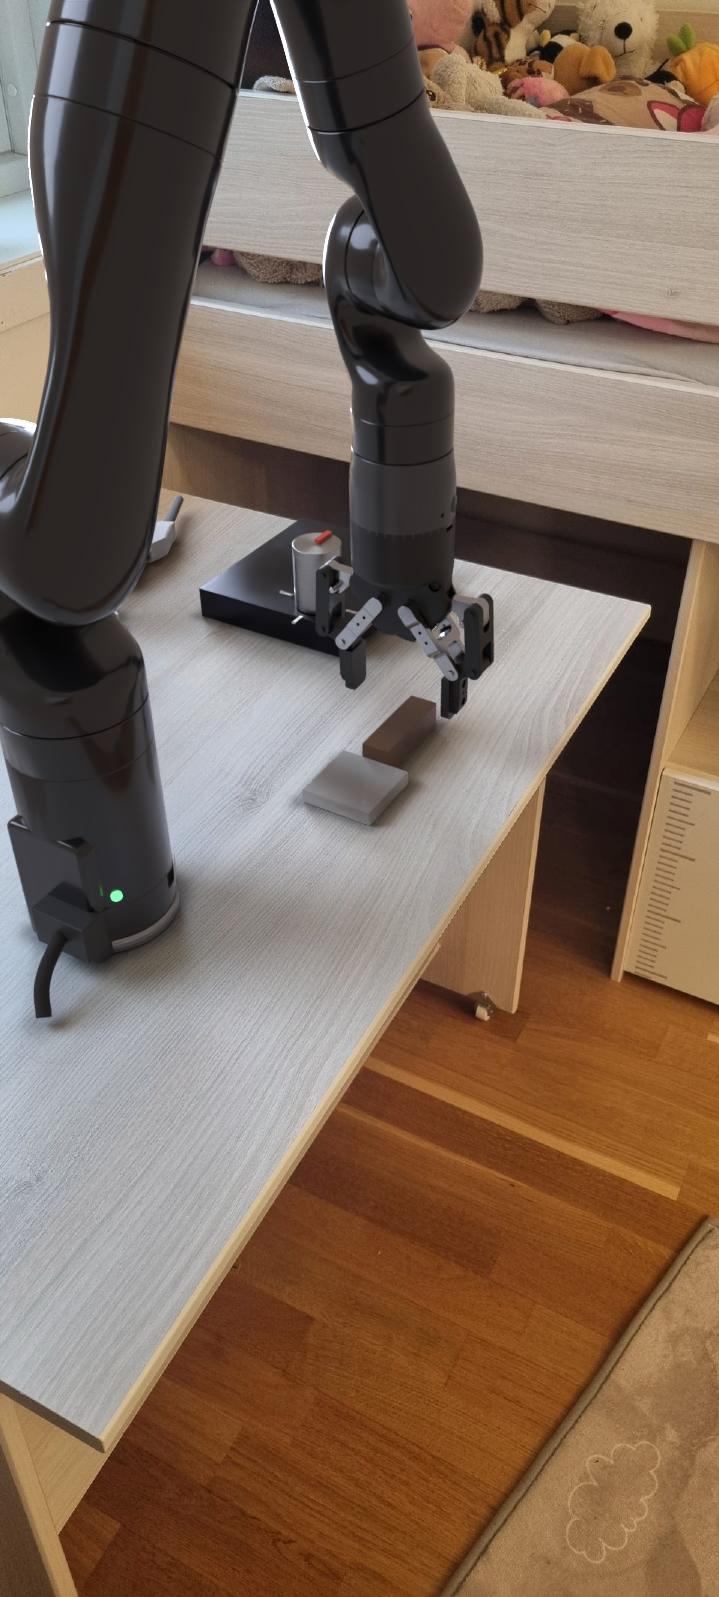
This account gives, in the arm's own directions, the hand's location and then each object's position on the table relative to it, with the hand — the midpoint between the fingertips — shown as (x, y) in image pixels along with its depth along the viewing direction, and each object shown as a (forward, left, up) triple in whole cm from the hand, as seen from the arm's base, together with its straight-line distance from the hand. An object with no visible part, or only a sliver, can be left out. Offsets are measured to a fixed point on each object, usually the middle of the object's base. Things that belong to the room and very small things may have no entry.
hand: (402, 698), depth 94 cm
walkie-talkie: (+17, +42, -5) cm, 46 cm away
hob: (+18, +19, -5) cm, 27 cm away
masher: (-3, 0, -5) cm, 5 cm away
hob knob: (+12, +16, -1) cm, 20 cm away
